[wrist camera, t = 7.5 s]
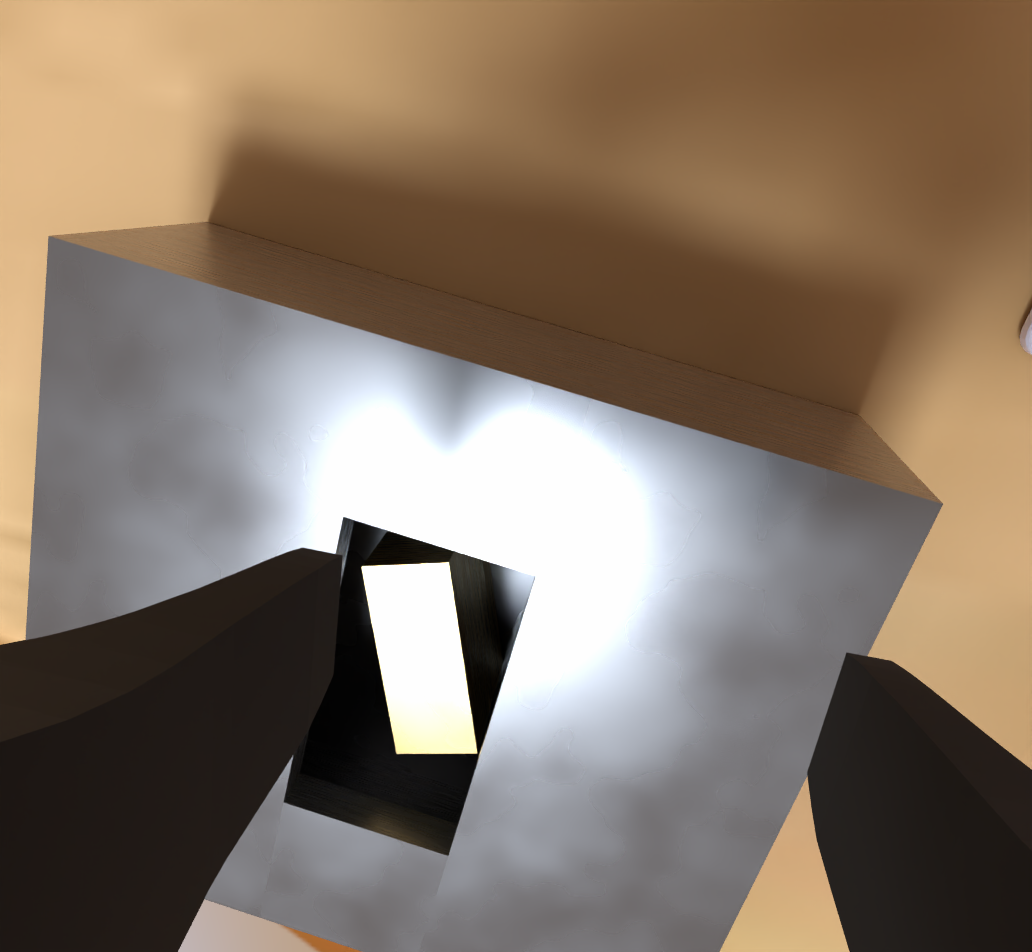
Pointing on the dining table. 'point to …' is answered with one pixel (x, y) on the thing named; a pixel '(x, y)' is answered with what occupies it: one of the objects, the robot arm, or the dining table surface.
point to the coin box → (514, 569)
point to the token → (434, 643)
